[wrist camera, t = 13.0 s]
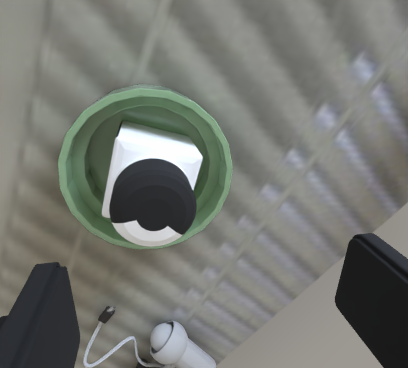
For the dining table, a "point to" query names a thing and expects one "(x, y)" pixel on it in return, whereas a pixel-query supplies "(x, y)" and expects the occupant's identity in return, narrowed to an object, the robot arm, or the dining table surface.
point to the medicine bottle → (151, 184)
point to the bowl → (104, 143)
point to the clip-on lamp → (160, 347)
